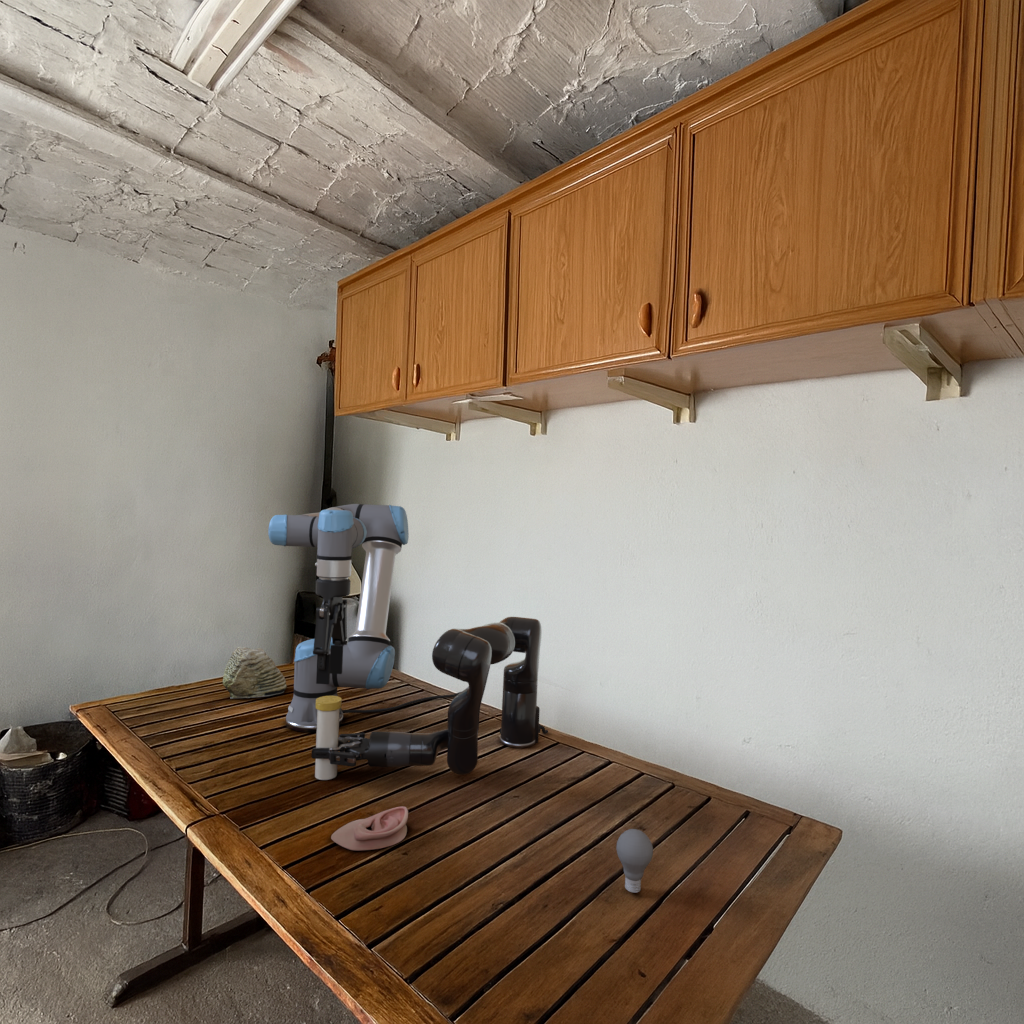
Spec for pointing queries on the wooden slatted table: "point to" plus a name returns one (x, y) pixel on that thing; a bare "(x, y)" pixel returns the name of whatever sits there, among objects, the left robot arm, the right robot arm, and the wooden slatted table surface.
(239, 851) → the wooden slatted table surface
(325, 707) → the lid
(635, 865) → the light bulb
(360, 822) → the anatomical model
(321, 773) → the jar
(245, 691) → the fossil
